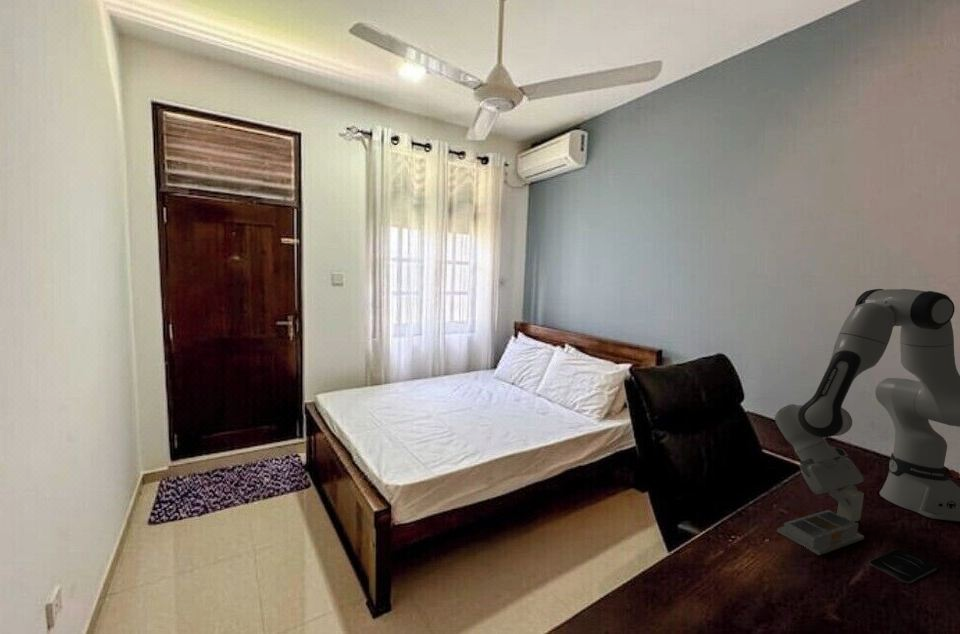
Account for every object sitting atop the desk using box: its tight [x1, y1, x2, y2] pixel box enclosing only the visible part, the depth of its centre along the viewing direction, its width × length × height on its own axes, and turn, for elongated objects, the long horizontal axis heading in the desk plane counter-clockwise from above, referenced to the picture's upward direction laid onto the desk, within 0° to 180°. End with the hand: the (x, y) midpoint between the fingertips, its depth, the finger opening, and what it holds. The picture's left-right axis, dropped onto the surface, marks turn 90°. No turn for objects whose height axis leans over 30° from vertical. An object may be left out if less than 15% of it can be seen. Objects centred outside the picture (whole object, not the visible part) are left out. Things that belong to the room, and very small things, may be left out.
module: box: [836, 487, 865, 523], centre depth 117 cm, size 4×4×8 cm
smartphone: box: [869, 548, 937, 585], centre depth 99 cm, size 8×1×15 cm
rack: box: [776, 509, 865, 556], centre depth 110 cm, size 20×10×4 cm, turn 113°
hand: (853, 504), depth 116 cm, fingers closed on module, 4 cm apart
